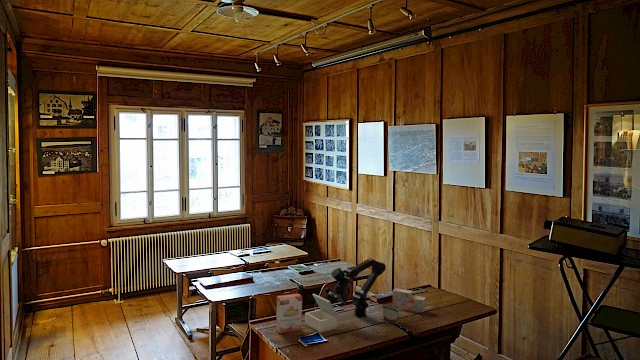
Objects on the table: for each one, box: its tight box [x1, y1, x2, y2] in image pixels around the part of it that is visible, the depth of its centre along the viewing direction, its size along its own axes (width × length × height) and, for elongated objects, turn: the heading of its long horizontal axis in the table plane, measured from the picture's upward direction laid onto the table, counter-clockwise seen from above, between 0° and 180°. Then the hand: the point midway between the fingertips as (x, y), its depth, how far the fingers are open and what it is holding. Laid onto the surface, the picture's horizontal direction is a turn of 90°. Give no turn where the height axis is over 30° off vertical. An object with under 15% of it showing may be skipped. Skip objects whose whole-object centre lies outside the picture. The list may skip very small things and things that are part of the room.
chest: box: [304, 308, 338, 334], centre depth 275 cm, size 12×16×7 cm
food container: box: [381, 303, 401, 325], centre depth 285 cm, size 12×6×10 cm, turn 47°
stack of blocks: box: [392, 287, 427, 314], centre depth 308 cm, size 21×6×12 cm, turn 60°
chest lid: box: [312, 293, 339, 318], centre depth 277 cm, size 12×16×1 cm
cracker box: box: [275, 293, 303, 334], centre depth 267 cm, size 14×6×21 cm, turn 116°
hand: (326, 306), depth 277 cm, fingers closed, pressing on chest lid
